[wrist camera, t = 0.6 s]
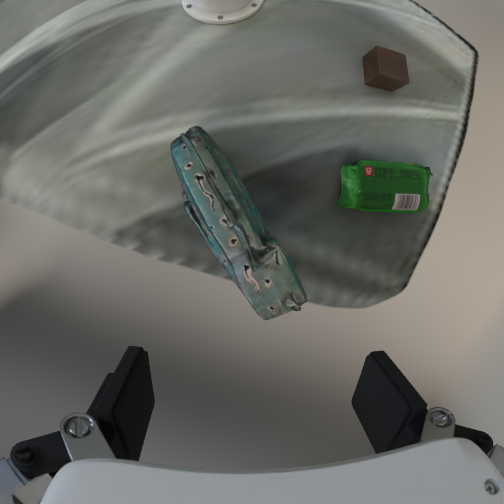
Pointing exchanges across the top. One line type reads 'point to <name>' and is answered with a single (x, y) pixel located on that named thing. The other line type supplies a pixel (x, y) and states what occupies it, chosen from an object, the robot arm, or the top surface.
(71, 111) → the top surface
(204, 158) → the ceramic cat
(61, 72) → the top surface
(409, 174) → the snack package
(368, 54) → the walnut block
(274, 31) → the top surface
